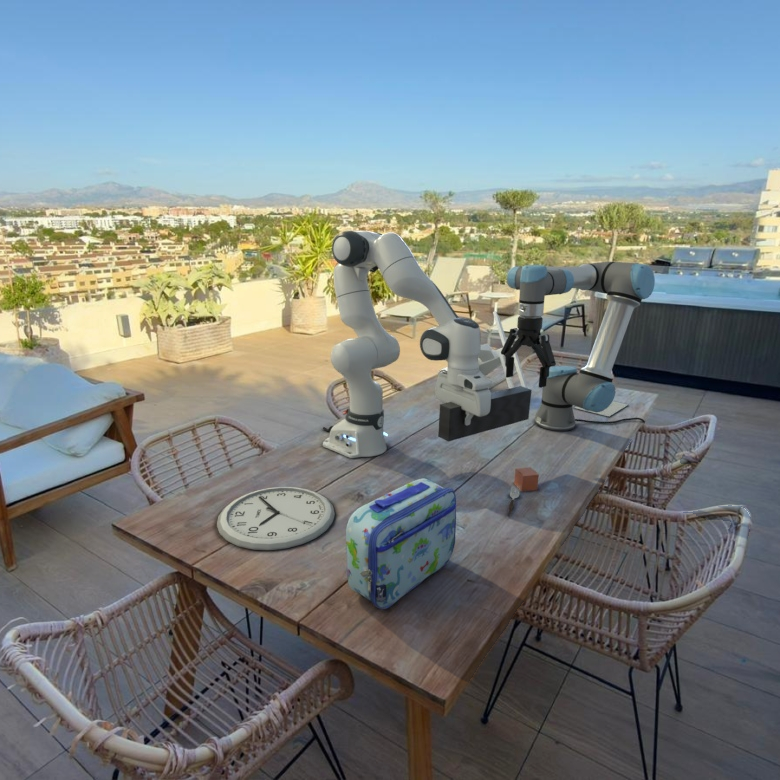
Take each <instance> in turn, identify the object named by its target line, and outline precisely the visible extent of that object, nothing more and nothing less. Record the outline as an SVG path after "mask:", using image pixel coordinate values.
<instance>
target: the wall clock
mask: <svg viewBox="0 0 780 780" xmlns="http://www.w3.org/2000/svg"><path fill="white" fill-rule="evenodd" d="M335 516H336V513H335V509H334V505H333V504H332V503H331V502H330V500H329V499H328V498H327V497H325V496H323V495H322V494H321V493H319V492H316V491H313V490H311V489H307V488H302V487H296V486H279V487H278V486H277V487H267V488H263V489H258V490H255V491H251V492H249V493H246V494H243V495H242V496H240V497H238V498H235V499H234V500H232V501H231V502H230V503H228V505H226V506H225V507H223V509H222V510H221V512H220V514H219V515H218V517H217V521H216V529H217V531H218V533H219V535H220V536H221V537H222V538H223V539H224V540H225V541H226V542H227V543H230V544H233V545H235V546H236V547H239V548H244V549H249V550H257V551H274V550H285V549H289V548H292V547H297V546H301V545H304V544H306V543H308V542H310V541H312V540H315V539H317V538H318V537H319V536H321V535H323V534H324V533H325V532H326V531H328V529H329V528H330V527H331V525H332V524H333V522H334V518H335Z"/></svg>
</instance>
